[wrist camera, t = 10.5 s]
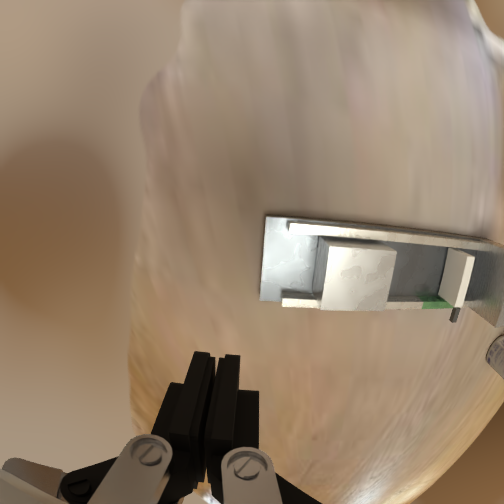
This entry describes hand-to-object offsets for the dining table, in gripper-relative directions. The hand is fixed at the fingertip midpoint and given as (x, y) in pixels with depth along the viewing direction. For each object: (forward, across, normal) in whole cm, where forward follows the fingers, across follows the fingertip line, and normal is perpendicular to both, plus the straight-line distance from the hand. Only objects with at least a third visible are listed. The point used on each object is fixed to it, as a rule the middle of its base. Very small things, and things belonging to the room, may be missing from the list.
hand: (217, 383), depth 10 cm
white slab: (+17, -22, +1) cm, 28 cm away
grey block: (+17, -10, 0) cm, 20 cm away
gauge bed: (+19, -15, 0) cm, 24 cm away
